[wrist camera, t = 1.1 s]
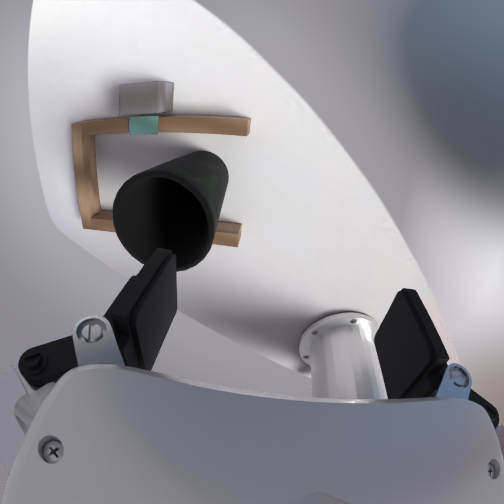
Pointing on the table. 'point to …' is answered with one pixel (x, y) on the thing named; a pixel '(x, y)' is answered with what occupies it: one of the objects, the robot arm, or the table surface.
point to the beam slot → (142, 102)
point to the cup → (172, 208)
